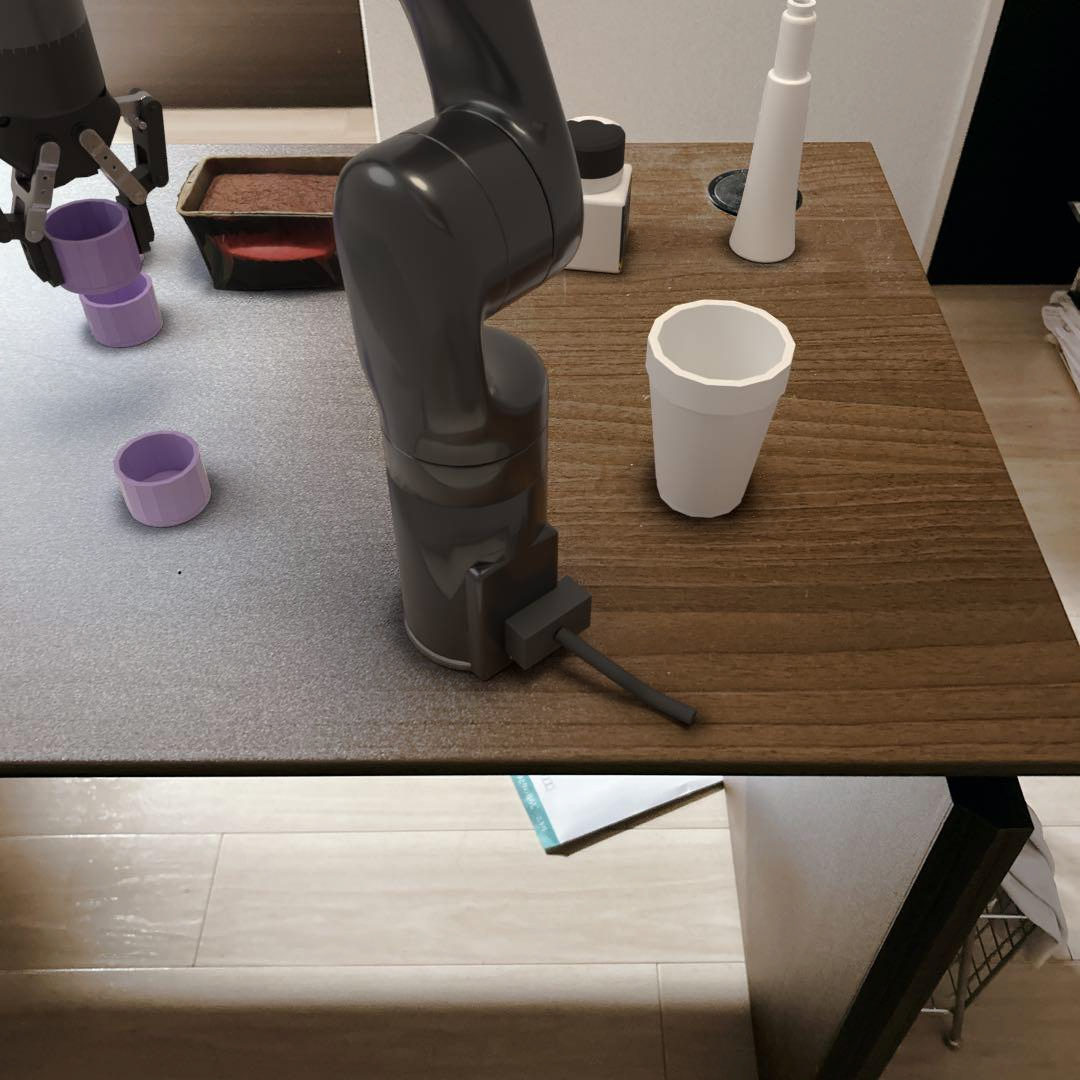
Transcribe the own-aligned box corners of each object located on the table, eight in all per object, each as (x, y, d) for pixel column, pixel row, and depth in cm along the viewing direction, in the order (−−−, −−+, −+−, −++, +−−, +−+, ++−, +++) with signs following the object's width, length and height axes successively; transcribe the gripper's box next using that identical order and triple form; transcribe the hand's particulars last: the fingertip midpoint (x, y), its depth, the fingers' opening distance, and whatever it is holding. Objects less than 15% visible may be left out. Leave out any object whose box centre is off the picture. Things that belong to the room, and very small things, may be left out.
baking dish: (238, 226, 111) (199, 133, 103) (413, 210, 108) (386, 113, 100) (198, 321, 102) (152, 227, 94) (388, 306, 99) (356, 208, 91)
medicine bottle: (620, 275, 101) (628, 149, 93) (541, 268, 102) (542, 142, 94) (628, 233, 106) (636, 110, 98) (553, 227, 107) (555, 104, 98)
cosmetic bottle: (784, 269, 102) (830, 20, 86) (720, 254, 104) (754, 8, 88) (801, 236, 106) (848, -8, 90) (739, 223, 108) (774, -19, 92)
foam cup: (728, 433, 86) (751, 288, 77) (789, 512, 80) (822, 365, 71) (615, 463, 84) (625, 317, 75) (669, 547, 78) (687, 400, 69)
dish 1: (157, 274, 79) (143, 222, 76) (79, 305, 76) (61, 253, 73) (119, 240, 82) (104, 189, 79) (43, 268, 79) (24, 217, 76)
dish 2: (175, 329, 96) (164, 289, 93) (111, 356, 93) (97, 315, 90) (143, 299, 99) (131, 259, 96) (80, 324, 96) (66, 284, 93)
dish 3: (225, 501, 81) (214, 460, 78) (152, 539, 79) (137, 498, 76) (186, 460, 84) (174, 419, 81) (114, 495, 82) (99, 454, 79)
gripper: (-81, 72, 61) (21, 328, 73) (160, 5, 68) (217, 250, 80) (-128, 29, 65) (-25, 279, 77) (104, -31, 72) (166, 208, 84)
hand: (98, 263), depth 79 cm, fingers closed on dish 1, 6 cm apart
